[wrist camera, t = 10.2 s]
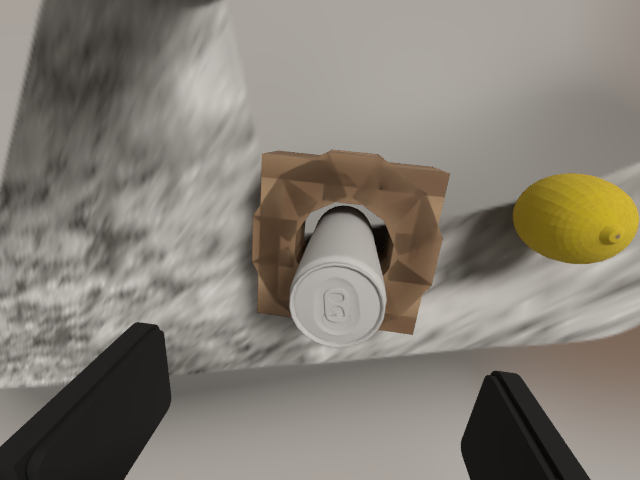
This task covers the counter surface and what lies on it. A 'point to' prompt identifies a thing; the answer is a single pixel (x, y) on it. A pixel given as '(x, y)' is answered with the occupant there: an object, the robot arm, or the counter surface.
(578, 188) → the lemon
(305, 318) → the beverage can
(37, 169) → the counter surface
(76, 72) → the counter surface
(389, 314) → the socket block
